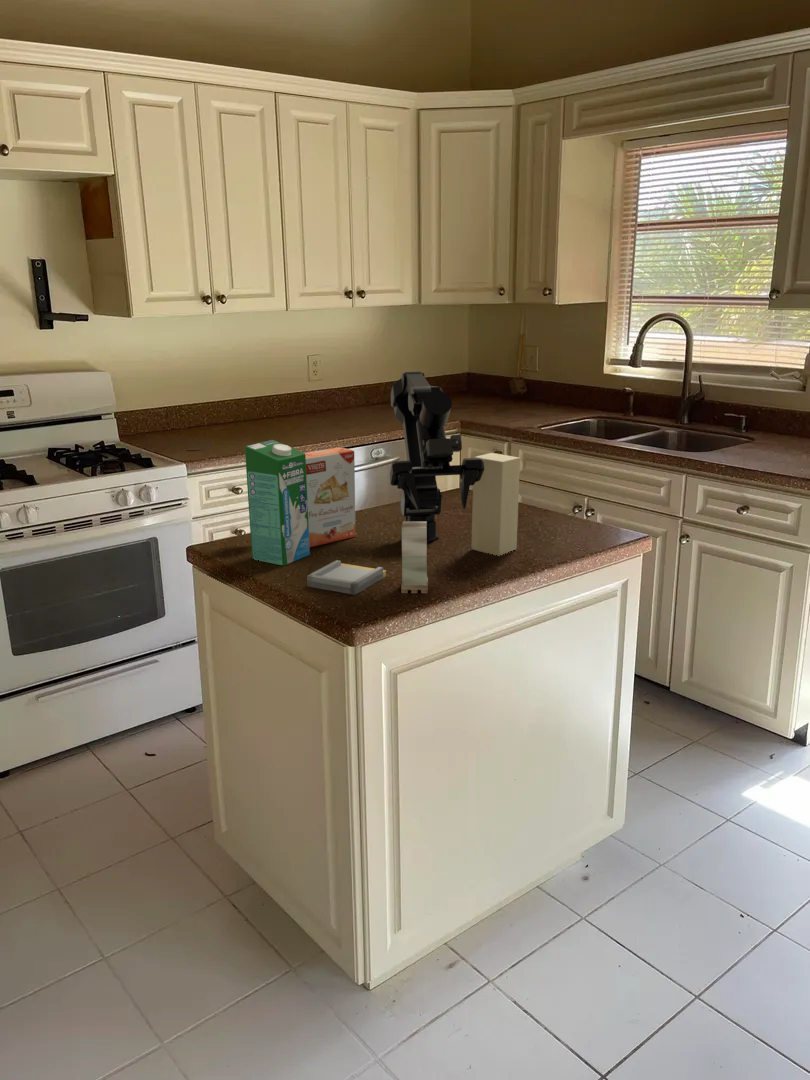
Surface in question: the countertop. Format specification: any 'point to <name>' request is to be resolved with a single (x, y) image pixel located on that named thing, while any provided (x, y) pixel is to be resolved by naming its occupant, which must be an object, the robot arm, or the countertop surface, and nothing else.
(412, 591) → the pale banded rectangular block
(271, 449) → the milk carton
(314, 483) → the cracker box
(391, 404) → the robot arm
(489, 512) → the tall cream block
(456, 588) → the countertop surface
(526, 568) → the countertop surface
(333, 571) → the pad
